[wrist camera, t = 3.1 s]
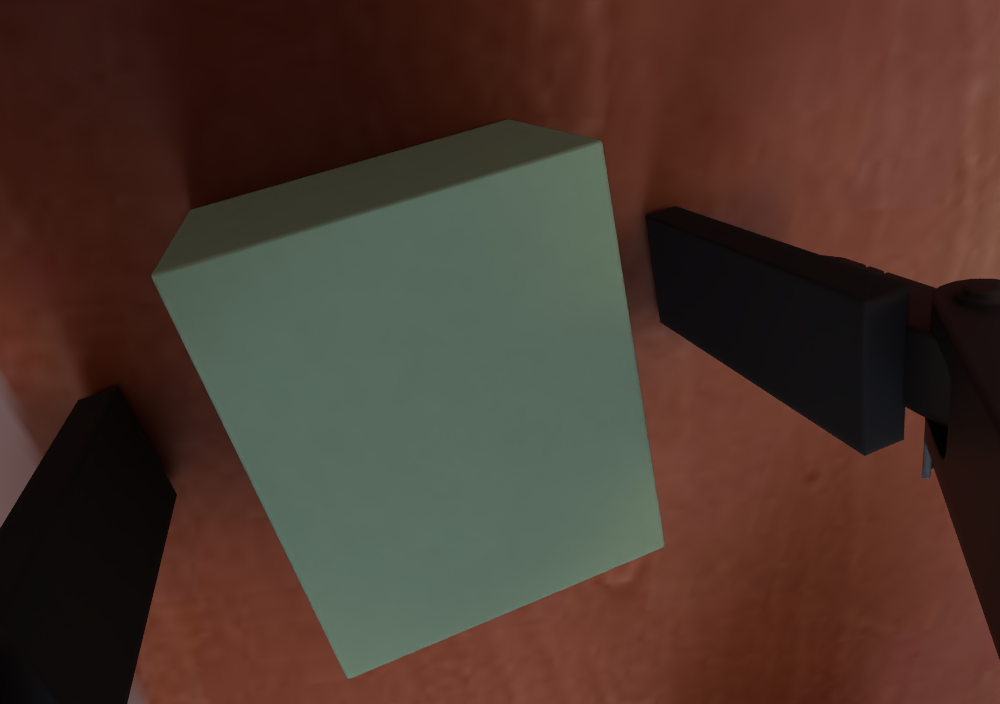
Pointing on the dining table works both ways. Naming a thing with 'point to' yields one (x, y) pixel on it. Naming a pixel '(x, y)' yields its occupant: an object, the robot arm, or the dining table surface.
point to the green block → (427, 379)
